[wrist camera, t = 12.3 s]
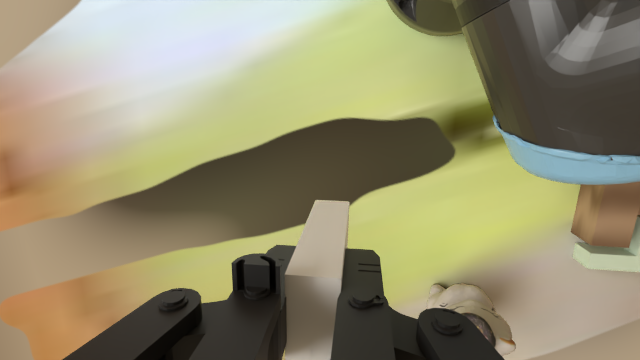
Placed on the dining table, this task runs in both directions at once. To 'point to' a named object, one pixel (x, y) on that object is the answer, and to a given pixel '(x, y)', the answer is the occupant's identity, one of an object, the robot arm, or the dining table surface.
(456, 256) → the dining table surface
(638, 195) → the t block
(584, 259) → the slot frame
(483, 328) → the figurine
